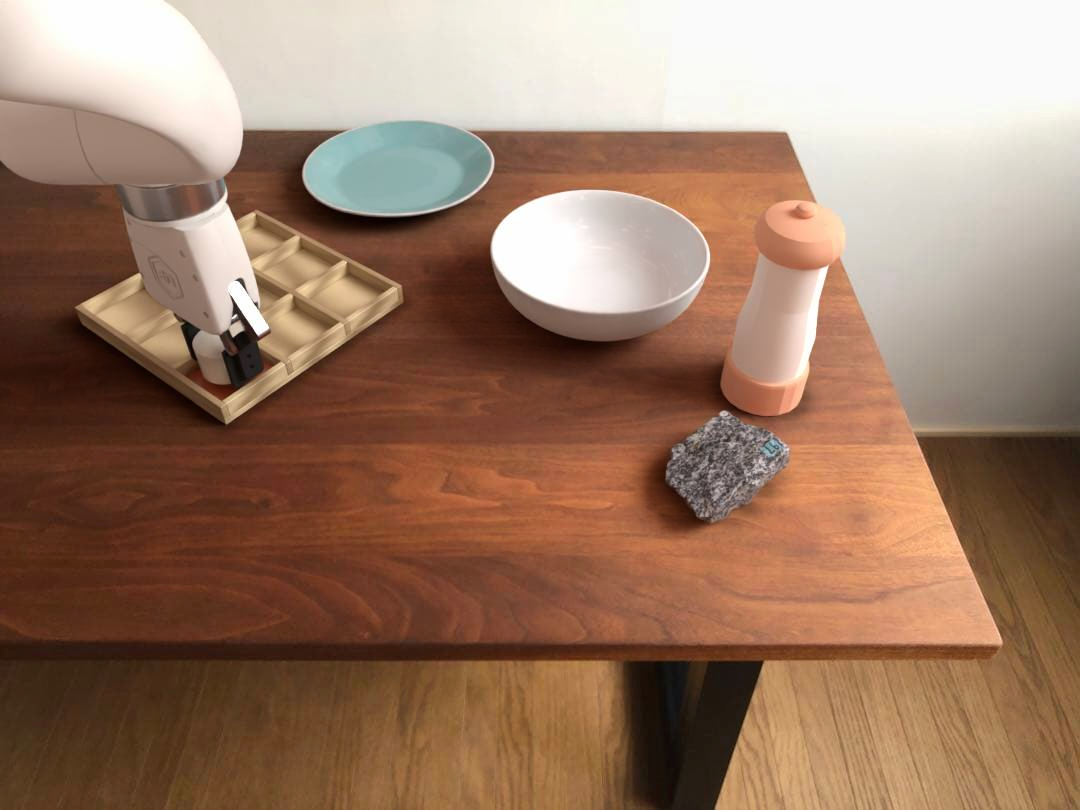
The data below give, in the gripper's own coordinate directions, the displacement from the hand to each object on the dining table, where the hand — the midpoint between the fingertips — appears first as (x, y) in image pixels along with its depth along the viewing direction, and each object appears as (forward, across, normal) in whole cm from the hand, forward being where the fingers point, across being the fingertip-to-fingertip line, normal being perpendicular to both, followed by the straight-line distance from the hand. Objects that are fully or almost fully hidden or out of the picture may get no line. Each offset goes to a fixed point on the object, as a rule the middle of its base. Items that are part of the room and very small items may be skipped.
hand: (228, 363), depth 79 cm
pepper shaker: (+2, +38, +29) cm, 48 cm away
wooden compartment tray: (+2, -7, +7) cm, 10 cm away
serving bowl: (+2, +19, +30) cm, 36 cm away
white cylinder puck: (0, 0, 0) cm, 0 cm away
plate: (+2, -12, +34) cm, 36 cm away
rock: (+2, +41, +17) cm, 44 cm away
